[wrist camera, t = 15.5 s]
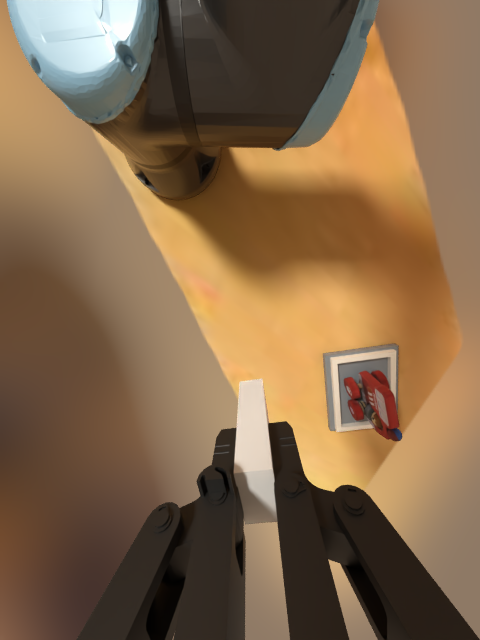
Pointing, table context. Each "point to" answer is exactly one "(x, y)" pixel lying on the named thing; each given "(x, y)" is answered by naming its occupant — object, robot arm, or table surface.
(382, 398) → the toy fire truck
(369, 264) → the table surface
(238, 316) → the table surface
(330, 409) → the base board
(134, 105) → the robot arm
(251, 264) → the table surface
